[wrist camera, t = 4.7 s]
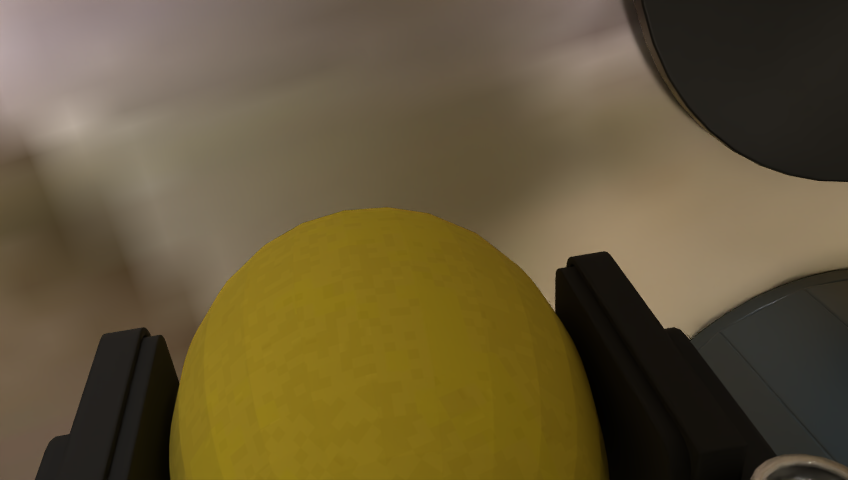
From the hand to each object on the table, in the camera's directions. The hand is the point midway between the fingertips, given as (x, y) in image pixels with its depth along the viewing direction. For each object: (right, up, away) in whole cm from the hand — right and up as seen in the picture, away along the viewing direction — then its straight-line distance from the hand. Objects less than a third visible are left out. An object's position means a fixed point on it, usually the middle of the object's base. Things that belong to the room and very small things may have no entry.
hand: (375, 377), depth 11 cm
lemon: (0, +2, +3) cm, 3 cm away
